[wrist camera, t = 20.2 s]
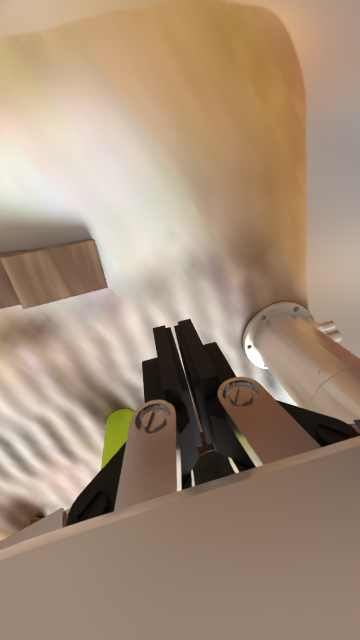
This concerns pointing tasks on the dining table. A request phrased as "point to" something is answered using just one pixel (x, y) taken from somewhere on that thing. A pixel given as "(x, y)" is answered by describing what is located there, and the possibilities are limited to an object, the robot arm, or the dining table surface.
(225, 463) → the black ball on stand
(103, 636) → the robot arm
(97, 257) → the domino
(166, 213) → the dining table surface
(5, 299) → the domino
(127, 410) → the soap dispenser
